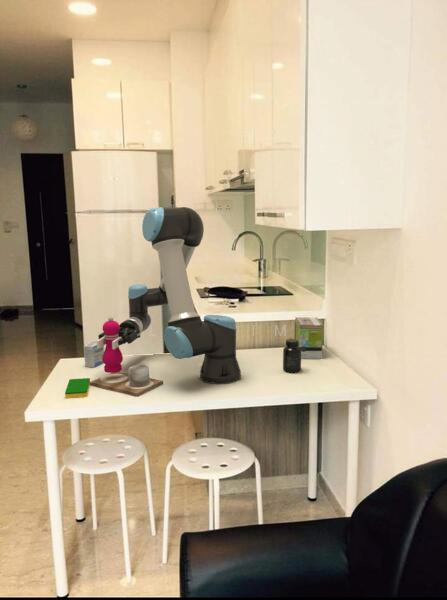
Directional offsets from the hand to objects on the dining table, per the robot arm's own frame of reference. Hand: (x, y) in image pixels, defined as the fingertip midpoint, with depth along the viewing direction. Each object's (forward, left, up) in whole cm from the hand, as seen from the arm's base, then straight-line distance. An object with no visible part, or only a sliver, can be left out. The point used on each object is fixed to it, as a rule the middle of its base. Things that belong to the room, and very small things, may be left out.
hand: (105, 345), depth 176 cm
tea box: (-46, -72, -16) cm, 87 cm away
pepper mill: (+2, -5, -11) cm, 12 cm away
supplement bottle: (-49, -48, -15) cm, 71 cm away
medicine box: (+23, -16, -16) cm, 32 cm away
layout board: (-4, -5, -15) cm, 17 cm away
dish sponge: (+6, +8, -16) cm, 19 cm away
